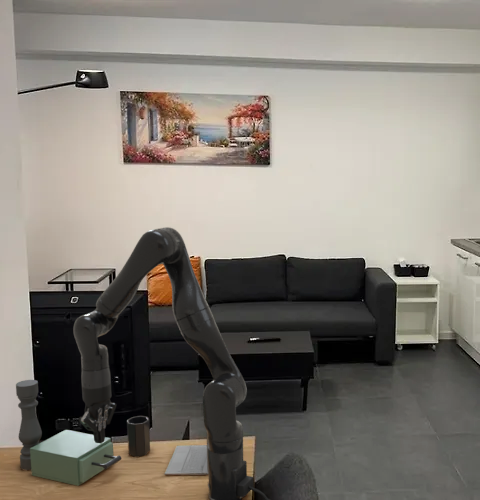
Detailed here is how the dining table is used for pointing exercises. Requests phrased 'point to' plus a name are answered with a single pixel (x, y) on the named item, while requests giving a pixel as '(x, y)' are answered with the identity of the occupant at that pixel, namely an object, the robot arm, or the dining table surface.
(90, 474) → the drawer
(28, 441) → the candle holder
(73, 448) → the cabinet
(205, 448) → the laptop
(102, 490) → the dining table surface
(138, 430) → the tumbler
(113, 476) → the dining table surface
